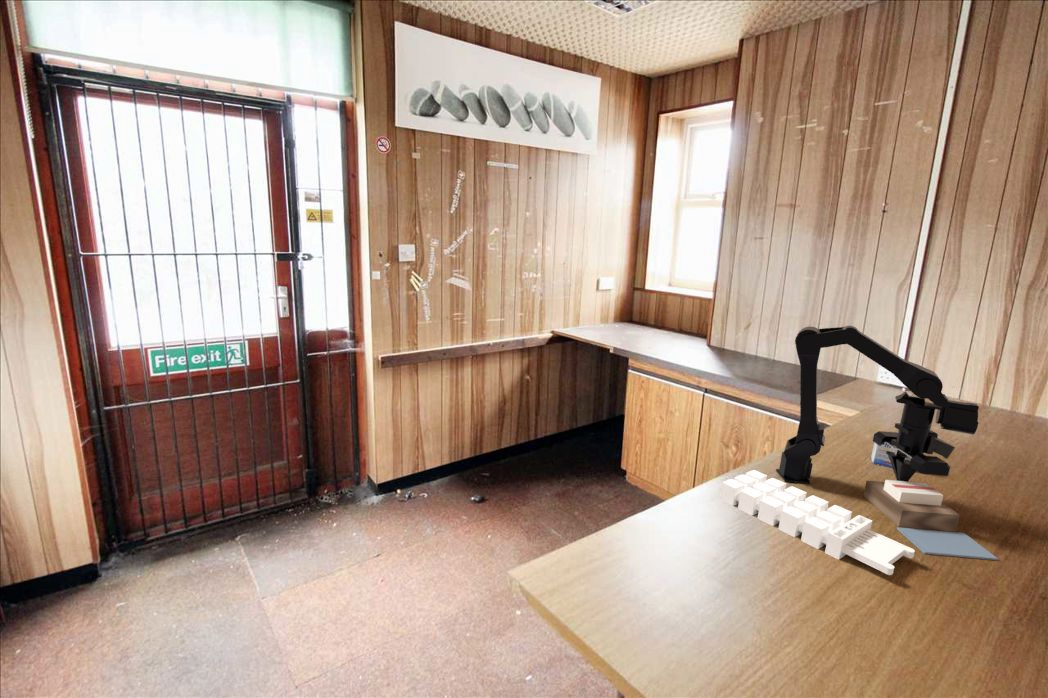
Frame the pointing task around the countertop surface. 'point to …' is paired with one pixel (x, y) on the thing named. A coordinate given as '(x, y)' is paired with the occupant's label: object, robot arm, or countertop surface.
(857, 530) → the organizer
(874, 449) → the medicine box
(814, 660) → the countertop surface
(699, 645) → the countertop surface
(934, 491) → the card box
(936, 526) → the taupe square box
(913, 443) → the robot arm
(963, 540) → the mat
